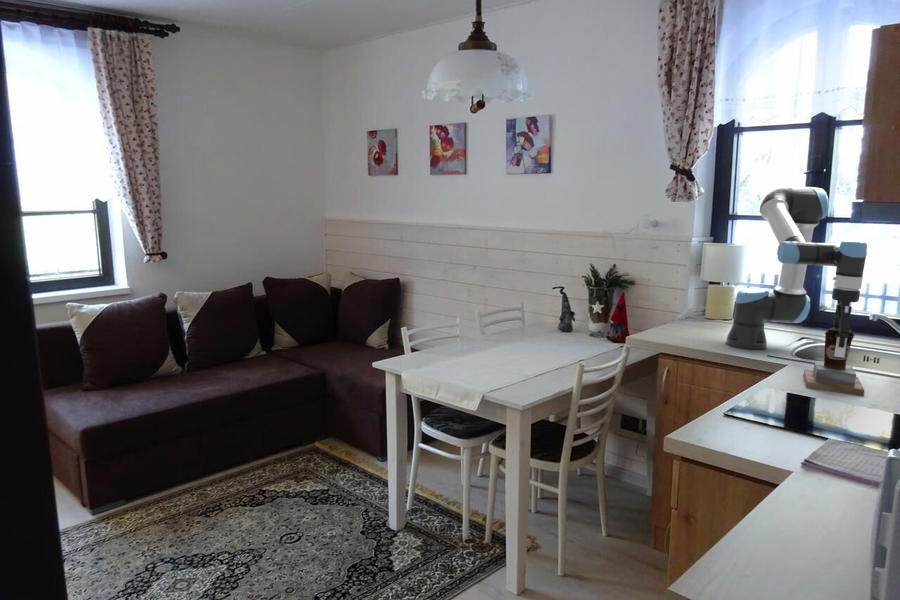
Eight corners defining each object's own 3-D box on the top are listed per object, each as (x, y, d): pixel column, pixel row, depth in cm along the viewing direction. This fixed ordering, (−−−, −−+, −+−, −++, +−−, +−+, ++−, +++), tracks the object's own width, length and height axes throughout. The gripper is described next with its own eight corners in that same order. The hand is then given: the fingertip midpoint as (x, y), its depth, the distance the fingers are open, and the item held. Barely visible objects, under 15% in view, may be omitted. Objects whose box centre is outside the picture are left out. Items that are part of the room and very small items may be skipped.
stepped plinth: (803, 374, 226) (805, 358, 225) (856, 382, 220) (859, 365, 218) (806, 387, 212) (809, 369, 211) (863, 396, 205) (866, 377, 204)
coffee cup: (853, 372, 209) (859, 333, 207) (825, 370, 211) (831, 331, 209) (843, 365, 218) (849, 327, 215) (816, 363, 219) (822, 325, 217)
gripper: (829, 282, 222) (820, 341, 226) (837, 293, 200) (827, 359, 204) (855, 284, 219) (845, 345, 223) (866, 295, 197) (855, 362, 201)
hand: (836, 351), depth 214 cm, fingers open, 13 cm apart
